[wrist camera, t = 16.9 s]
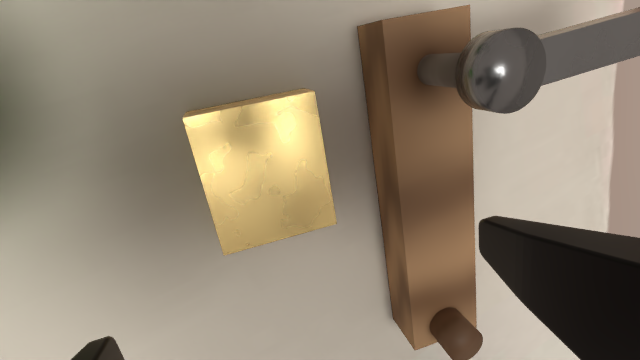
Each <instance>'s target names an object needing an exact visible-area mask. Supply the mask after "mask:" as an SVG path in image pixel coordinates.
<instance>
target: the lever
mask: <svg viewBox="0 0 640 360" xmlns="http://www.w3.org/2000/svg"><path fill="white" fill-rule="evenodd" d="M636 56H640V7H639V8H635V9H631V10H628V11H624V12H621V13H617V14H613V15H610V16H606V17H603V18H599V19H595V20H592V21H588V22H584V23H581V24H577V25H574V26H570V27H566V28H563V29H559V30H556V31H552V32H548V33H545V34H541V35H538V36H537V35H536V34H534V33H533V32H532V31H530V30H528V29H524V28H511V29H503V30H494V31H487V32H484V33H481V34H479V35H477V36H476V37H474V38H473V39H472V40H471V41H470V42H469V43H468V44H467V45H466V46H465V48H464V49H463V51H462V52H461V54H460V56H459V59H458V62H457V65H456V70H455V83H456V88H457V91H458V94H459V96H460V97H461V99H462V100H463V101H464V102H465V103H466V104H467V105H468V106H470V107H472V108H475V109H479V110H485V111H491V112H496V113H504V114H505V113H512V112H515V111H518V110H520V109H521V108H523V107H524V106H526V105H527V104H528V103H529V102H530V101H531V100H532V99H533V98H534V97H535V95H536V94H537V92H538V90H539V89H540V87H541V86H542V85H546V84H549V83H552V82H555V81H559V80H562V79H565V78H568V77H572V76H575V75H578V74H581V73H585V72H588V71H591V70H595V69H598V68H601V67H604V66H608V65H611V64H614V63H617V62H620V61H624V60H627V59H630V58H634V57H636Z"/></svg>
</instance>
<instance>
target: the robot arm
mask: <svg viewBox="0 0 640 360" xmlns="http://www.w3.org/2000/svg"><path fill="white" fill-rule="evenodd" d="M479 250H480V253H481V255H482V256H483V258H484V259H485V260H486V261H487V262H488V263H489V265H490V266H491V267H492V268H493V269H494V271H495V272H496V273H497V274H498V275H499V276H500V278H501V279H502V280H503V281H504V282H505V283H506V285H507V286H508V287H509V288H510V289H511V290H512V292H513V293H514V294H515V295H516V296H517V297H518V298H519V300H520V301H521V302H522V303H523V304H524V305H525V306H526V307H527V308H528V309H529V310H530V311H531V312H532V313H533V314H534V315H535V316H536V317H537V318H538V319H539V320H540V321H541V322H542V323H543V324H545V325H546V326H547V327H548V328H549V329H550V330H551V331H552V332H553V333H554V334H555V335H556V336H557V337H558V338H559V339H560V340H561V341H562V342H563V343H564V344H565V345H566V346H567V347H568V348H569V349H570V350H571V351H572V352H573V353H574V354H575V355H576V356H577V357H578V358H579V359H580V360H640V238H636V237H630V236H624V235H616V234H611V233H604V232H598V231H591V230H585V229H578V228H572V227H565V226H559V225H552V224H546V223H539V222H533V221H526V220H520V219H514V218H507V217H501V216H492V217H489V218H486V219H482V220H481V221H480V223H479ZM71 360H124V357H123V355H122V353H121V351H120V349H119V347H118V345H117V343H116V341H115V339H114V338H113V337H110V336H107V337H104V338H101V339H98V340H94V341H91V342H89V343H88V344H87V345H86V346H85V347H84V348H83V349H82V350H81V351H80V352H78V353H77V354H76V355H75V356H74V357H73V358H72V359H71Z"/></svg>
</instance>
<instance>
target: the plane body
mask: <svg viewBox="0 0 640 360" xmlns="http://www.w3.org/2000/svg"><path fill="white" fill-rule="evenodd" d="M357 28H358V36H359V44H360V52H361V60H362V68H363V77H364V85H365V93H366V101H367V109H368V117H369V126H370V134H371V142H372V150H373V158H374V166H375V175H376V183H377V191H378V199H379V207H380V215H381V224H382V232H383V240H384V248H385V256H386V264H387V272H388V281H389V289H390V297H391V305H392V313H393V319H394V321H395V322H396V324H397V325H398V327H399V328H400V329H401V331H402V332H403V334H404V335H405V337H406V338H407V340H408V341H409V342H410V344H411V345H412V347H413V348H414V350H418V349H420V348H423V347H426V346H428V345H431V344H433V343H436V342H439V344H440V345H441V346H442V347H443V349H444V350H445V351H446V352H447V354H448V355H449V356H450V357H451V359H452V360H468V359H470V358H472V357H473V356H474V355H475V354H476V353H477V352H478V351H479V349H480V348H481V346H482V342H483V337H482V334H481V333H480V332H479V331H478V330H477V329H476V279H475V230H474V181H473V131H472V107H470V106H468V105H467V104H466V103H465V102H464V101H463V100H462V99H461V97H460V96H459V94H458V91H457V88H456V83H455V70H456V65H457V62H458V59H459V56H460V54H461V52H462V51H463V49H464V48H465V46H466V45H467V44H468V43H469V42H470V41H471V33H470V5H466V6H460V7H454V8H449V9H443V10H437V11H431V12H426V13H420V14H414V15H408V16H403V17H397V18H391V19H385V20H380V21H377V22H373V23H369V24H365V25H361V26H357Z"/></svg>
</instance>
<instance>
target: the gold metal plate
mask: <svg viewBox="0 0 640 360" xmlns="http://www.w3.org/2000/svg"><path fill="white" fill-rule="evenodd" d="M182 119H183V122H184V126H185V129H186V132H187V136H188V139H189V142H190V146H191V149H192V152H193V155H194V159H195V162H196V165H197V169H198V172H199V175H200V178H201V182H202V185H203V188H204V192H205V195H206V198H207V202H208V205H209V208H210V211H211V215H212V218H213V221H214V225H215V228H216V231H217V234H218V238H219V241H220V244H221V248H222V251H223V254H224V255H228V254H231V253H235V252H238V251H242V250H245V249H249V248H253V247H256V246H260V245H263V244H267V243H270V242H274V241H277V240H281V239H285V238H288V237H292V236H295V235H299V234H302V233H306V232H309V231H313V230H316V229H320V228H324V227H327V226H331V225H334V224H337V222H336V216H335V210H334V204H333V198H332V192H331V186H330V180H329V174H328V168H327V162H326V156H325V150H324V144H323V138H322V132H321V126H320V121H319V115H318V109H317V103H316V97H315V91H312V90H309V89H305V88H302V89H297V90H292V91H288V92H283V93H278V94H273V95H268V96H263V97H258V98H253V99H248V100H243V101H238V102H233V103H228V104H223V105H218V106H213V107H208V108H203V109H198V110H193V111H188V112H186V113H185V115H184V116H183V118H182Z"/></svg>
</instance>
